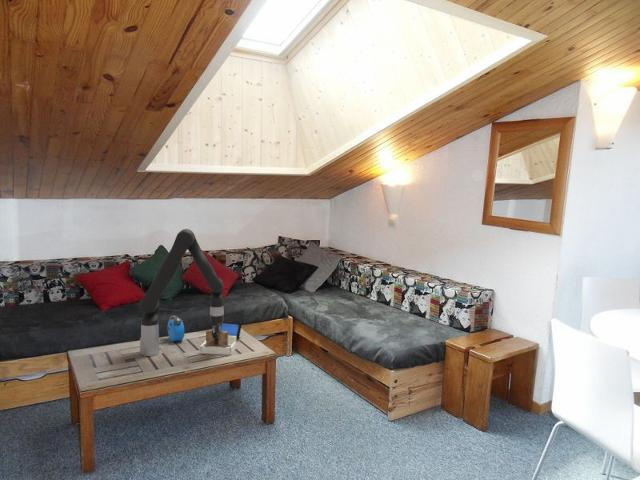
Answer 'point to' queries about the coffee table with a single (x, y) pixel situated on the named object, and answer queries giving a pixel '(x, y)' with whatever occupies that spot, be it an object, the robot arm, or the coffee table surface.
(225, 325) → the handheld game console
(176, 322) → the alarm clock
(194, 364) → the coffee table surface
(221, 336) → the door panel
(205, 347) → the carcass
